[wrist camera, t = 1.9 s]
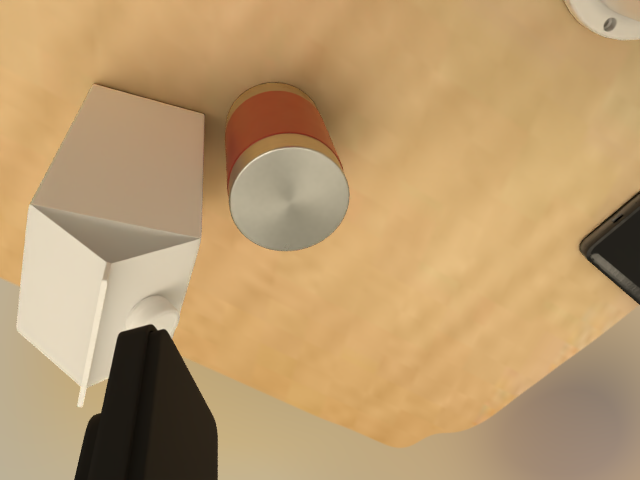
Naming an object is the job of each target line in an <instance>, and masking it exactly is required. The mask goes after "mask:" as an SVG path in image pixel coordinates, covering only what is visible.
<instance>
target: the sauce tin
mask: <svg viewBox="0 0 640 480" xmlns="http://www.w3.org/2000/svg"><path fill="white" fill-rule="evenodd" d="M225 130H226V133H225V150H226V171H227V190H228V196H229V207H230V212H231V216H232V219H233V221H234V223H235V225H236V226H237V228H238V229H239V230H240V232H241V233H242V234H243V235H244V236H245V237H246V238H248V239H249V240H250V241H252V242H253V243H255V244H257V245H259V246H262V247H264V248H267V249H271V250H277V251H295V250H300V249H304V248H308V247H311V246H313V245H315V244H317V243H319V242H321V241H323V240H324V239H325V238H327V237H328V236H329V235H331V234H332V233H333V232H334V231H335V230H336V228H337V227H338V226H339V225H340V223H341V222H342V220H343V218H344V216H345V214H346V211H347V209H348V204H349V195H350V194H349V186H348V182H347V179H346V177H345V174H344V171H343V167H342V164H341V162H340V160H339V157H338V155H337V153H336V150H335V148H334V145H333V143H332V141H331V138H330V136H329V134H328V131H327V129H326V126H325V124H324V122H323V119H322V117H321V115H320V114H319V112H318V110H317V107H316V106H315V104H314V102H313V101H312V100H311V99H310V97H308V96H307V95H306V94H305V93H304V92H303V91H301V90H300V89H298V88H296V87H294V86H291V85H288V84H284V83H265V84H261V85H257V86H255V87H253V88H250V89H249V90H247V91H246V92H244V93H243V94H242V95H240V96H239V97H238V99H237V100H236V101H235V102H234V103H233V105H232V106H231V108H230V110H229V113H228V116H227V119H226V128H225Z"/></svg>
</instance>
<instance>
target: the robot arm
mask: <svg viewBox="0 0 640 480" xmlns="http://www.w3.org/2000/svg"><path fill="white" fill-rule="evenodd" d="M564 2H565V4H566V6H567V8H568V10H569V12H570V13H571V14H572V15H573V16H574V18H575V19H576V20H577V21H578V22H579V23H580V24H581V25H583V26H584V27H586V28H587V29H589V30H590V31H592V32H594V33H596V34H598V35H601V36H603V37H606V38H611V39H616V40H638V39H640V0H564ZM217 456H218V435H217V427H216V423H215V420H214V417H213V415H212V413H211V411H210V409H209V408H208V406H207V404H206V402H205V400H204V398H203V396H202V394H201V393H200V391H199V389H198V387H197V385H196V383H195V381H194V380H193V378H192V376H191V374H190V372H189V370H188V368H187V367H186V365H185V363H184V361H183V359H182V357H181V355H180V353H179V352H178V350H177V348H176V346H175V344H174V342H173V340H172V338H171V337H170V335H169V333H168V331H167V330H166V329H161V330H157V329H156V327H155V326H154V325H153V324H149V325H145V326H141V327H137V328H134V329H130V330H126V331H122V332H120V333H119V334H118V337H117V341H116V345H115V350H114V355H113V360H112V364H111V369H110V374H109V379H108V383H107V388H106V393H105V398H104V403H103V407H102V412H101V413H100V414H96V415H94V416H93V417H92V418H91V419H90V421H89V423H88V425H87V428H86V432H85V436H84V440H83V444H82V449H81V453H80V457H79V462H78V466H77V471H76V475H75V479H74V480H218V479H217V478H218V472H217V471H218V470H217V468H218V460H217V459H218V457H217Z"/></svg>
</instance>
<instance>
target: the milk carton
mask: <svg viewBox="0 0 640 480" xmlns="http://www.w3.org/2000/svg"><path fill="white" fill-rule="evenodd" d="M204 127H205V115H204V114H202V113H198V112H195V111H191V110H187V109H184V108H180V107H176V106H173V105H169V104H165V103H162V102H158V101H155V100H151V99H147V98H144V97H140V96H136V95H133V94H129V93H125V92H122V91H118V90H115V89H111V88H107V87H104V86H100V85H96V84H93V85H92V87H91V88H90V90H89V92H88V94H87V96H86V98H85V100H84V102H83V104H82V106H81V107H80V109H79V111H78V113H77V115H76V117H75V119H74V121H73V123H72V125H71V127H70V128H69V130H68V132H67V134H66V136H65V138H64V140H63V142H62V144H61V146H60V148H59V149H58V151H57V153H56V155H55V157H54V159H53V161H52V163H51V165H50V167H49V168H48V170H47V172H46V174H45V176H44V178H43V180H42V182H41V184H40V186H39V188H38V189H37V191H36V193H35V195H34V197H33V199H32V201H31V203H30V205H29V209H28V216H27V225H26V235H25V245H24V255H23V264H22V274H21V284H20V294H19V305H18V314H17V331H18V332H19V333H20V334H21V335H22V336H23V337H25V338H26V339H27V340H28V341H30V343H32V344H33V345H34V346H35V347H36V348H37V349H38V350H40V351H41V352H42V353H43V354H44V355H45V356H46V357H48V358H49V359H50V360H51V361H52V362H53V363H55V364H56V365H57V366H58V367H59V368H60V369H61V370H63V371H64V372H65V373H66V374H67V375H68V376H69V377H71V378H72V379H73V380H74V381H75V382H76V383H77V384H78V385H80V386H81V389H80V394H79V399H78V404H77V406H78V407H82V406H83V402H84V397H85V393H86V389H87V388H88V387H90V386H93V385H95V384H97V383H99V382H101V381H103V380H106V379H108V378H109V374H110V369H111V364H112V360H113V355H114V350H115V345H116V341H117V337H118V334H119V333H120V332H122V331H126V330H130V329H134V328H137V327H141V326H145V325H149V324H153V325H154V326H155V327H156V329H157V330H161V329H166V330H167V331H168V333H169V335H170V337H171V338H173V335H174V331H175V329H176V327H177V325H178V322H179V318H180V311H181V308H182V305H183V301H184V298H185V294H186V291H187V288H188V284H189V281H190V278H191V274H192V271H193V267H194V264H195V261H196V257H197V254H198V250H199V246H200V242H201V233H202V200H203V163H204Z"/></svg>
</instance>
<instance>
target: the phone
mask: <svg viewBox="0 0 640 480" xmlns="http://www.w3.org/2000/svg"><path fill="white" fill-rule="evenodd" d="M580 252H581V253H582V254H583V255H584V256H585V257H586V259H587V260H588V261H590V262H591V263H592V264H593V265H594V266H595V267H596V268H598V269H599V270H600V271H601V272H602V273H603V274H605V275H606V276H607V277H608V278H609V279H610V280H612V281H613V282H614V283H615V284H616V285H617V286H619V287H620V288H621V289H622V290H623V291H624V292H626V293H627V294H628V295H629V296H630V297H631V298H633V299H634V300H635V301H636V302H637V303H638V304H639V305H640V193H639V194H637V195H636V196H635V197H634V198H633V199H631V200H630V201H629V202H628V203H627V204H626V205H624V206H623V207H622V208H621V209H620V210H618V211H617V212H616V213H615V214H614V215H612V216H611V217H610V218H609V219H608V220H607V221H605V222H604V223H603V224H602V225H601V226H599V227H598V228H597V229H596V230H595V231H594V232H592V233H591V234H590V235H589V236H588V237H586V238H585V239H584V240H583V241H582V243H581V245H580Z"/></svg>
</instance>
